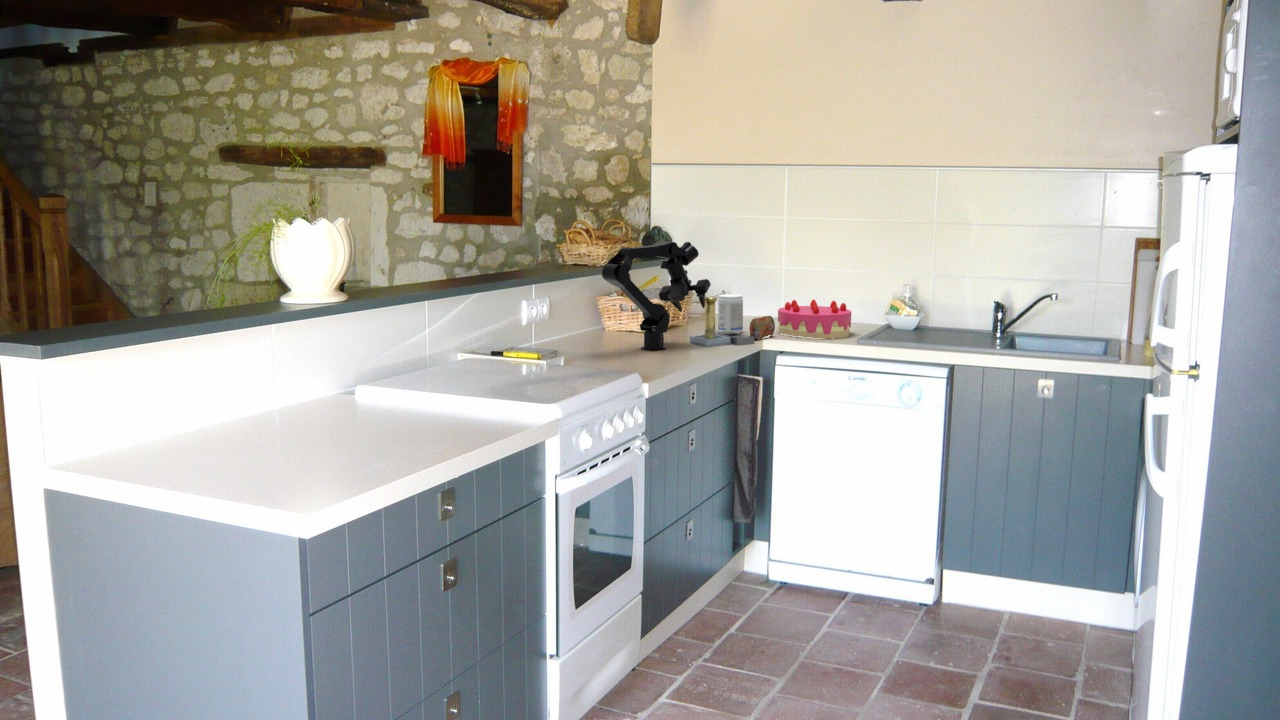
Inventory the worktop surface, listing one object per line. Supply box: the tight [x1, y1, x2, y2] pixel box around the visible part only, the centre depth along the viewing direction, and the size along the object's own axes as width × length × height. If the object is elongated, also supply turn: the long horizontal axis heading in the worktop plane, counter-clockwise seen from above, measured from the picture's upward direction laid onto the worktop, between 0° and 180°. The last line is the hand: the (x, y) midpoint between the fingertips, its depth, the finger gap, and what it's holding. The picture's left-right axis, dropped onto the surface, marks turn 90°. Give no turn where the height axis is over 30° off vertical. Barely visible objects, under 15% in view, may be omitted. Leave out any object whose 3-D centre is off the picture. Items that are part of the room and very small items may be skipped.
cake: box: [777, 299, 852, 339], centre depth 388 cm, size 28×28×12 cm
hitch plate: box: [715, 331, 756, 346], centre depth 369 cm, size 8×16×2 cm, turn 32°
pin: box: [704, 296, 718, 339], centre depth 363 cm, size 5×5×16 cm
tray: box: [689, 334, 731, 348], centre depth 364 cm, size 11×11×2 cm
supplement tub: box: [717, 293, 744, 334], centre depth 391 cm, size 10×10×15 cm
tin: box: [749, 315, 776, 341], centre depth 377 cm, size 15×3×8 cm, turn 143°
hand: (692, 309), depth 362 cm, fingers open, 9 cm apart
